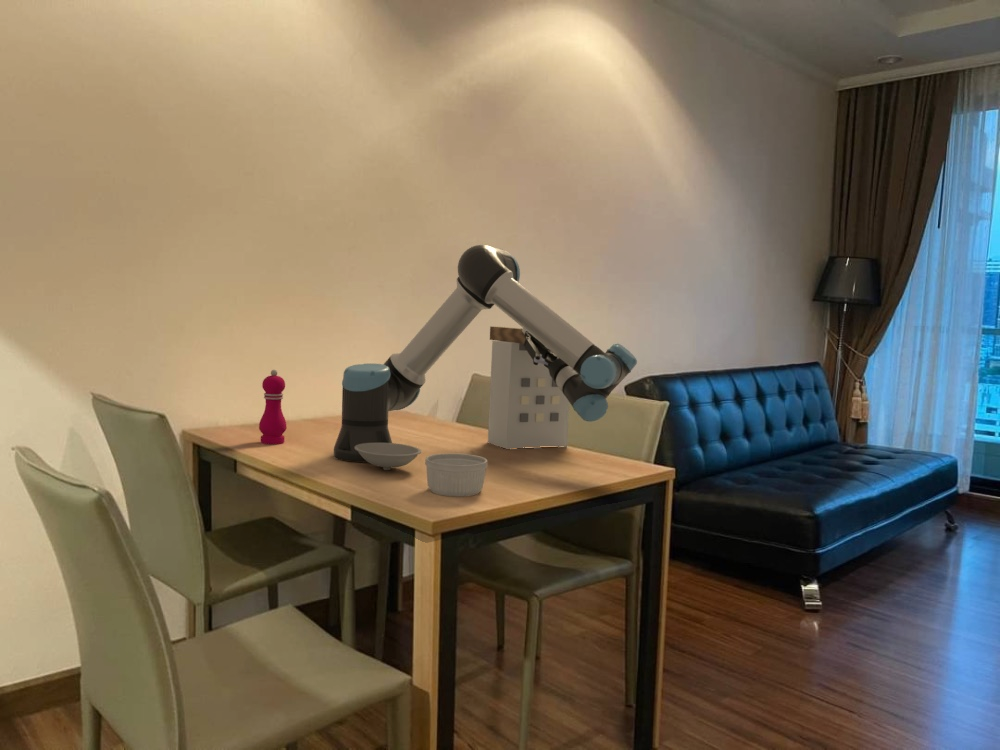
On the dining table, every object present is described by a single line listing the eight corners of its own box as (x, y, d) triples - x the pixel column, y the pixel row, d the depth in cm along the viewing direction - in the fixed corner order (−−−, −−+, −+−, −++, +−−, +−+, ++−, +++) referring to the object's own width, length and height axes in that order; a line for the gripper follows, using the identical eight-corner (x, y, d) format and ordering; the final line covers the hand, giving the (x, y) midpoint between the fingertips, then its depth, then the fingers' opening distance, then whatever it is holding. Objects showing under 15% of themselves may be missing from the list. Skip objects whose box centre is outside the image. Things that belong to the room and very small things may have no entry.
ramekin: (471, 501, 157) (472, 467, 156) (412, 493, 162) (414, 460, 161) (495, 489, 169) (496, 457, 169) (440, 481, 174) (442, 451, 173)
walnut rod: (555, 346, 208) (555, 331, 208) (542, 345, 207) (543, 330, 206) (501, 340, 237) (502, 326, 237) (489, 339, 235) (490, 326, 235)
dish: (434, 472, 183) (435, 451, 183) (387, 479, 173) (388, 457, 172) (387, 460, 195) (387, 440, 195) (339, 466, 185) (340, 445, 184)
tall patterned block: (568, 447, 227) (573, 344, 224) (507, 450, 218) (512, 343, 215) (546, 440, 238) (551, 342, 236) (487, 442, 229) (492, 340, 227)
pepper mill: (290, 441, 215) (291, 369, 214) (280, 445, 208) (282, 371, 207) (264, 439, 216) (266, 368, 215) (254, 443, 209) (255, 369, 207)
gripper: (601, 363, 201) (562, 316, 218) (543, 363, 193) (508, 314, 210) (591, 387, 204) (554, 339, 222) (534, 387, 197) (500, 337, 214)
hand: (532, 327), depth 216 cm, fingers open, 4 cm apart
